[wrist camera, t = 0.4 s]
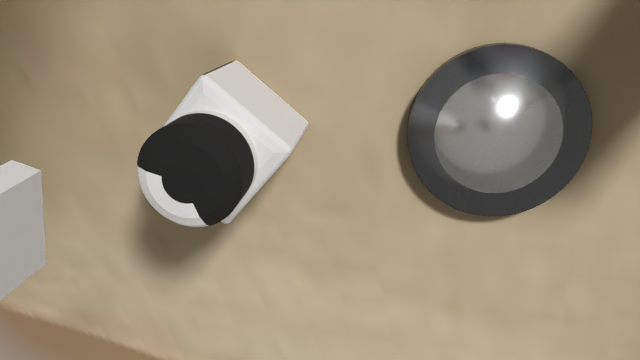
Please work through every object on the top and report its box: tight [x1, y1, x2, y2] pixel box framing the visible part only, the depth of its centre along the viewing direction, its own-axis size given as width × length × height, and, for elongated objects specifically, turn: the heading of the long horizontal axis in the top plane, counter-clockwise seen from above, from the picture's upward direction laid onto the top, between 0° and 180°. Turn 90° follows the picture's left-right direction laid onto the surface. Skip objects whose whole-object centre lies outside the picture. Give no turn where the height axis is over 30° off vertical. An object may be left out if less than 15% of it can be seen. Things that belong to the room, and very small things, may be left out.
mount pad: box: [408, 43, 592, 216], centre depth 36 cm, size 12×12×1 cm
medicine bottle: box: [137, 60, 309, 227], centre depth 33 cm, size 7×7×12 cm
